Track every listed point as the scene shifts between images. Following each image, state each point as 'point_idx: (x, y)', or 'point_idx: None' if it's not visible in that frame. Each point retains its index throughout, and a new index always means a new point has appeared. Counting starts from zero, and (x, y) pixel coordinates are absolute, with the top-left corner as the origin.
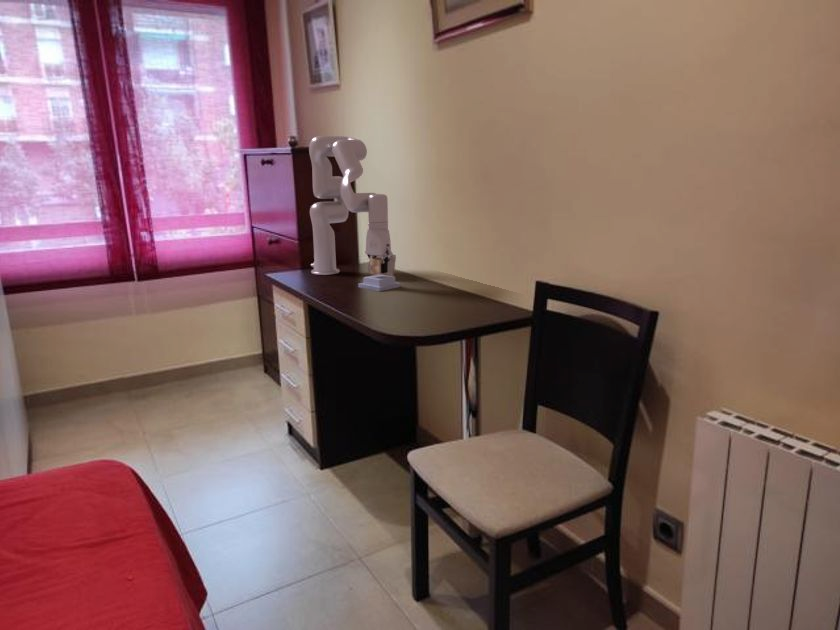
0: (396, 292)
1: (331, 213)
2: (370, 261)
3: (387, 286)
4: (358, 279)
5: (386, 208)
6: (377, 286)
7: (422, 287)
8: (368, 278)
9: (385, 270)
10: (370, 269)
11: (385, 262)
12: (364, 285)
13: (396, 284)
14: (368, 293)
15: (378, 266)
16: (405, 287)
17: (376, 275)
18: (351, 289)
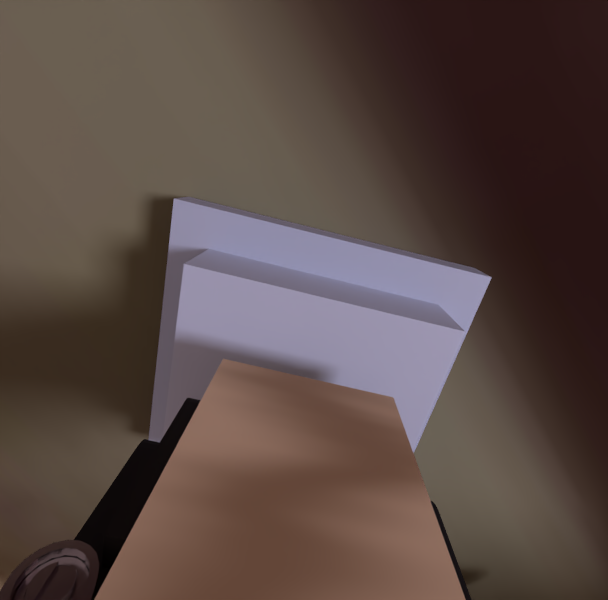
0: (36, 235)
1: None
2: (447, 586)
3: (165, 310)
4: (604, 518)
5: None
6: (225, 240)
7: (20, 470)
8: (374, 309)
9: (142, 453)
10: (403, 437)
11: (24, 589)
12: (395, 252)
13: (152, 410)
14: (223, 49)
15: (191, 449)
16: (115, 426)
17: None
18: (495, 143)
